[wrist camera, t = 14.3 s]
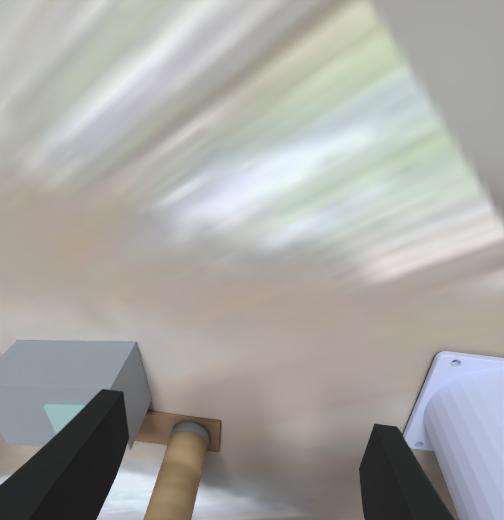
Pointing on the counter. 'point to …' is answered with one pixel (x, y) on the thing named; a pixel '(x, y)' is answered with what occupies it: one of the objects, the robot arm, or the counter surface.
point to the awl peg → (179, 473)
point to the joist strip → (161, 425)
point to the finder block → (66, 386)
